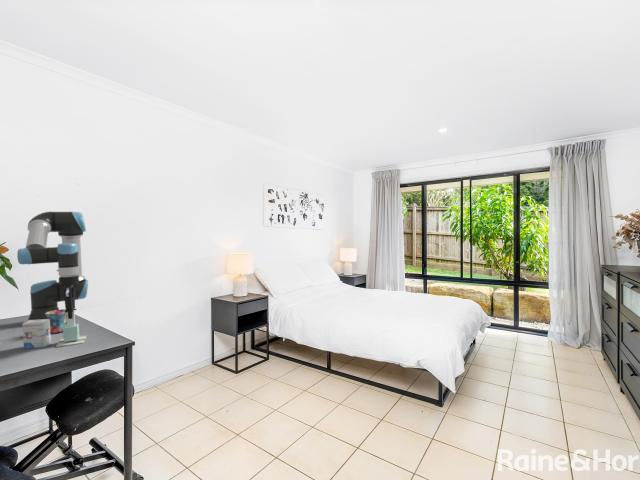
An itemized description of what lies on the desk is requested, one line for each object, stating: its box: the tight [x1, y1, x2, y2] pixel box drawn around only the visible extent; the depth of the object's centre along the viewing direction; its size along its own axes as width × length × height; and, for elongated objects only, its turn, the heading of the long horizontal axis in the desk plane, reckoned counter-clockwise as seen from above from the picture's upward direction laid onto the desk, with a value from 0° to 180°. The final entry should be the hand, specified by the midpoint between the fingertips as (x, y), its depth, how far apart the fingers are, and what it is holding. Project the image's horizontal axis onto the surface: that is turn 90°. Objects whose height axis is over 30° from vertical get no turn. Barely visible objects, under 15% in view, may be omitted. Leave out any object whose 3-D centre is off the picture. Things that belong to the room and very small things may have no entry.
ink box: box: [22, 319, 52, 350], centre depth 145 cm, size 9×5×12 cm, turn 106°
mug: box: [45, 308, 67, 334], centre depth 166 cm, size 12×9×11 cm
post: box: [55, 334, 88, 348], centre depth 150 cm, size 12×10×7 cm
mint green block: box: [62, 323, 80, 342], centre depth 150 cm, size 5×5×7 cm
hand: (71, 324), depth 150 cm, fingers closed
